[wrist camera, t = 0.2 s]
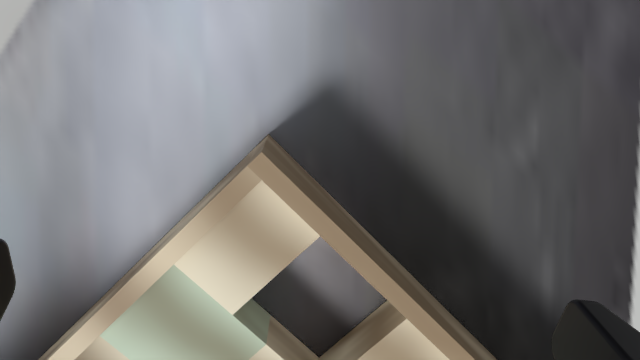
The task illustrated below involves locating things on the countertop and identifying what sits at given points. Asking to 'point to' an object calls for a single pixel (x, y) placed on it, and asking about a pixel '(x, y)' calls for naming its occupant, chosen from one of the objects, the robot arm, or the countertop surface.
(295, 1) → the countertop surface
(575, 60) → the countertop surface
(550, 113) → the countertop surface
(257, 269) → the box
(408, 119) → the countertop surface
